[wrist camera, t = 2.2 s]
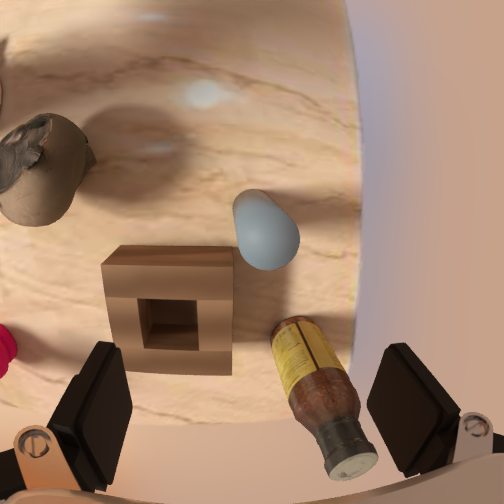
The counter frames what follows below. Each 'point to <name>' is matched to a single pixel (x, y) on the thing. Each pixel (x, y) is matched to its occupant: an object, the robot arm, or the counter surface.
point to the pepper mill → (6, 350)
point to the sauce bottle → (322, 397)
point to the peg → (264, 231)
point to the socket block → (171, 308)
